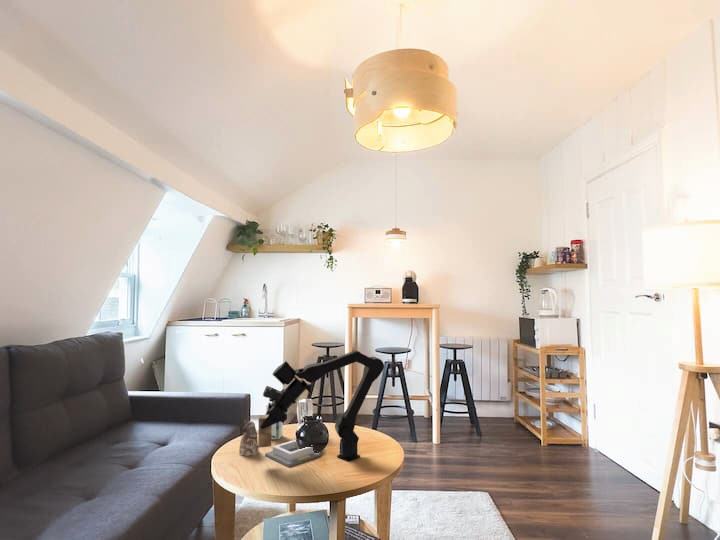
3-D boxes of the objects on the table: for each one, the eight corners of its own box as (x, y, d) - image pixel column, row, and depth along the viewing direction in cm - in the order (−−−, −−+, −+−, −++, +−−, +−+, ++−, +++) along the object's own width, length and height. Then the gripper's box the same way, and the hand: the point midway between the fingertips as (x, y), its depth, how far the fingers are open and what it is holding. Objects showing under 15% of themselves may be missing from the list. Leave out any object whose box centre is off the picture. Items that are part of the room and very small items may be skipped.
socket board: (320, 455, 154) (321, 446, 155) (288, 467, 144) (288, 457, 144) (296, 446, 165) (297, 437, 165) (265, 456, 154) (265, 446, 154)
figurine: (247, 457, 152) (248, 424, 153) (235, 453, 156) (236, 421, 157) (262, 451, 158) (262, 420, 159) (249, 448, 162) (250, 417, 163)
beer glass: (315, 433, 180) (315, 399, 181) (308, 438, 174) (308, 402, 175) (301, 432, 182) (301, 398, 184) (293, 436, 176) (294, 401, 177)
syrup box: (265, 439, 173) (266, 404, 174) (270, 434, 178) (271, 401, 180) (278, 440, 172) (278, 405, 173) (282, 435, 178) (283, 401, 179)
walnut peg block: (270, 442, 149) (271, 414, 149) (271, 446, 144) (271, 417, 145) (258, 443, 148) (258, 415, 148) (258, 447, 143) (258, 418, 144)
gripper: (275, 374, 158) (245, 405, 154) (277, 383, 140) (243, 418, 136) (295, 393, 159) (266, 424, 156) (300, 405, 141) (267, 440, 138)
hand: (261, 426), depth 146 cm, fingers closed on walnut peg block, 4 cm apart
